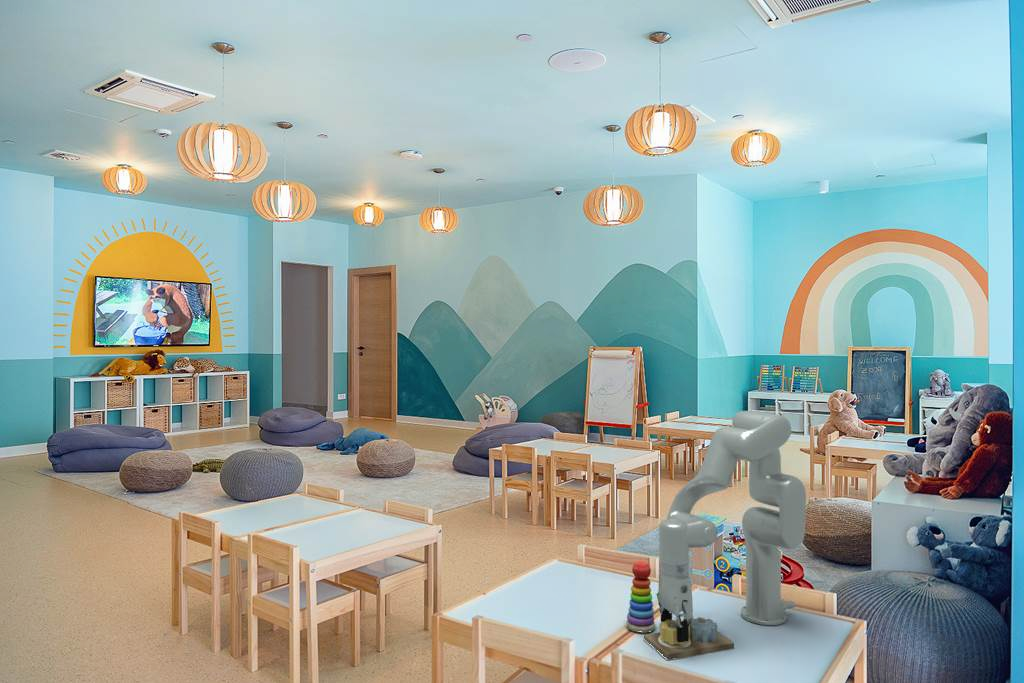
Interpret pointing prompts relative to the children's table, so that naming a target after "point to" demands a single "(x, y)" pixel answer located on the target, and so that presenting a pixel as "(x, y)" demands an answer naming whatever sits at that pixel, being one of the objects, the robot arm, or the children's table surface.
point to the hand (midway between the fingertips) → (674, 634)
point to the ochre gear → (670, 632)
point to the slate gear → (703, 630)
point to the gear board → (688, 645)
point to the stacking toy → (641, 600)
